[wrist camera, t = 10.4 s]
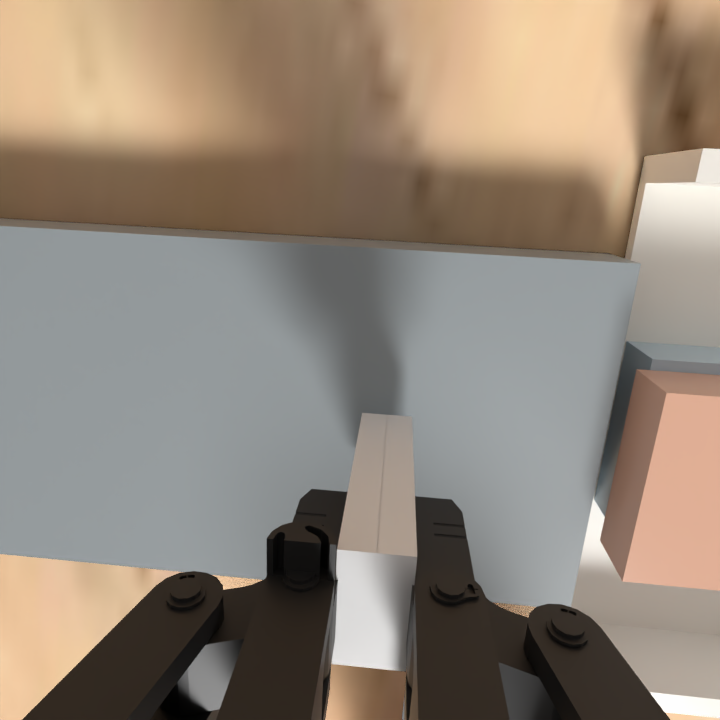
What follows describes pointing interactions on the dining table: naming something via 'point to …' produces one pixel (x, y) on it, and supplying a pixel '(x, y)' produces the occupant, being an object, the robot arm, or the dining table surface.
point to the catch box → (647, 324)
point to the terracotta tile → (668, 483)
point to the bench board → (298, 391)
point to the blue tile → (634, 358)
